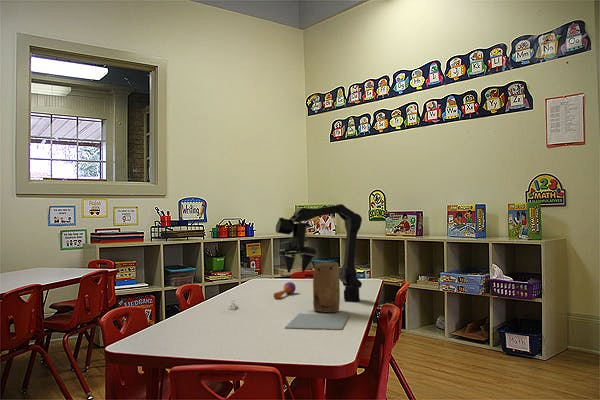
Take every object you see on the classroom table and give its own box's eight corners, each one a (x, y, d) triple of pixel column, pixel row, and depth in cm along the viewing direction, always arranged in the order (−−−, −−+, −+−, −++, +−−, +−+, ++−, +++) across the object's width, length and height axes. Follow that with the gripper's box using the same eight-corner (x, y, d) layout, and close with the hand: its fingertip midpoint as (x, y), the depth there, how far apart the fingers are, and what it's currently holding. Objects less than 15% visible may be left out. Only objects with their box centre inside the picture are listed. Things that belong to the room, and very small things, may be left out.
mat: (349, 315, 191) (349, 314, 191) (341, 329, 168) (341, 328, 168) (298, 314, 195) (298, 313, 195) (284, 328, 172) (284, 327, 172)
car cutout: (227, 307, 215) (227, 297, 215) (242, 308, 214) (242, 297, 214) (216, 315, 200) (216, 303, 201) (232, 315, 199) (232, 304, 199)
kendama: (269, 290, 233) (285, 281, 252) (272, 303, 233) (287, 293, 252) (281, 288, 231) (295, 279, 250) (283, 301, 231) (298, 291, 250)
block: (341, 310, 202) (340, 261, 203) (338, 313, 195) (336, 263, 196) (315, 309, 205) (314, 261, 206) (311, 313, 198) (310, 263, 198)
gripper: (271, 234, 217) (267, 270, 213) (299, 230, 203) (296, 268, 199) (290, 239, 224) (287, 273, 220) (318, 235, 210) (316, 272, 206)
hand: (295, 272), depth 211 cm, fingers open, 9 cm apart
